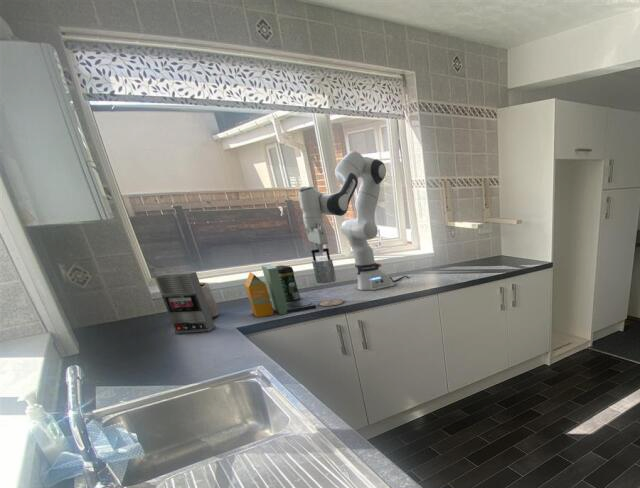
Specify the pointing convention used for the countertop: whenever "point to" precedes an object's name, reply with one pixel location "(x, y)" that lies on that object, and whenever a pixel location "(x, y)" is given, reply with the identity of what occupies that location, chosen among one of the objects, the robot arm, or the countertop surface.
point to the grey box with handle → (323, 268)
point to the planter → (210, 300)
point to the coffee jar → (288, 283)
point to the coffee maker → (281, 293)
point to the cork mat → (331, 303)
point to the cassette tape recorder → (185, 302)
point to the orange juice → (258, 296)
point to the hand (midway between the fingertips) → (320, 252)
